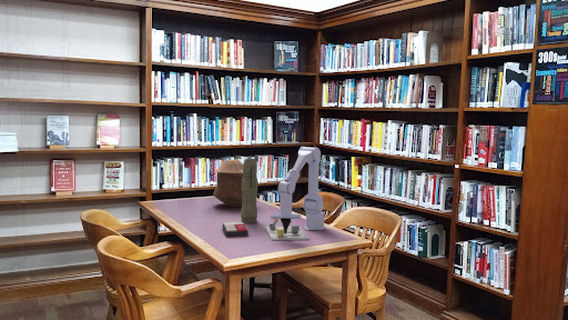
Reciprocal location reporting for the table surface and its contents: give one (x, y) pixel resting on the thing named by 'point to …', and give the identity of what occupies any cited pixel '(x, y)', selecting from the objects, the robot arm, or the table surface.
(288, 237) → the panel
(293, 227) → the slider grey
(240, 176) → the pottery vessel
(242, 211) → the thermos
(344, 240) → the table surface
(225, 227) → the red and grey box
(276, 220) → the toggle lever
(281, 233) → the slider brass
